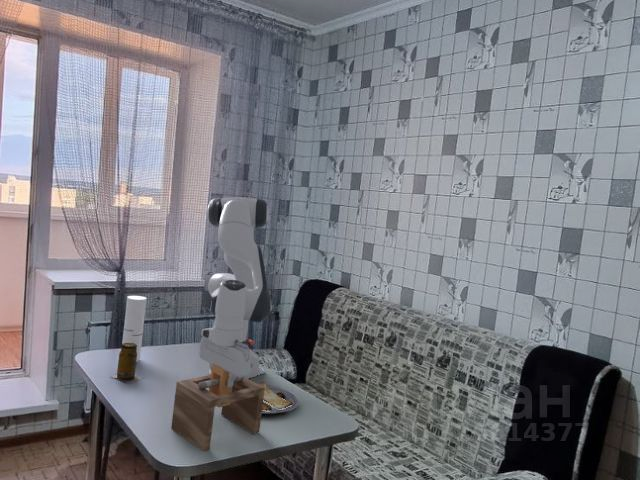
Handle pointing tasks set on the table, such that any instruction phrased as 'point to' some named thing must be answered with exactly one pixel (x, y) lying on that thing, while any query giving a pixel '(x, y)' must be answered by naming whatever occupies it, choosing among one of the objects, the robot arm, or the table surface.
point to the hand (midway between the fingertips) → (221, 382)
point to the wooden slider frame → (199, 406)
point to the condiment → (127, 363)
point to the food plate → (278, 399)
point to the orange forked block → (222, 388)
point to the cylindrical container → (134, 321)
